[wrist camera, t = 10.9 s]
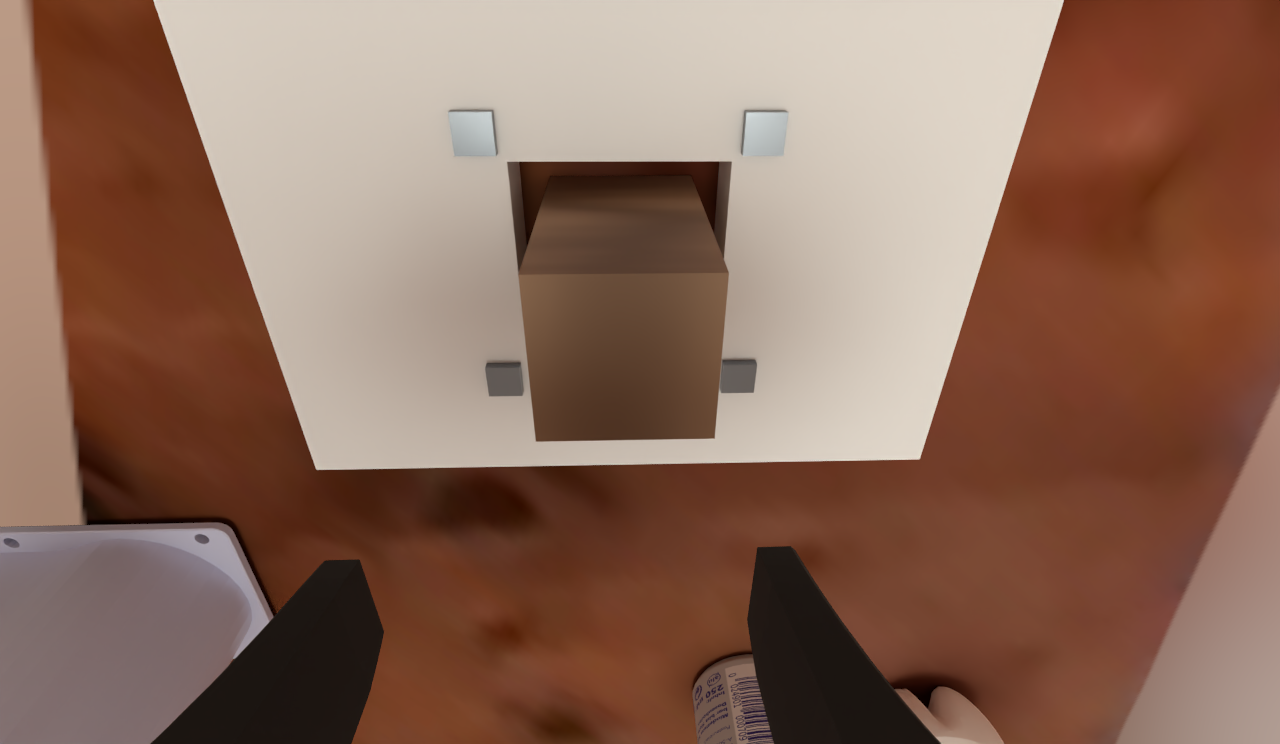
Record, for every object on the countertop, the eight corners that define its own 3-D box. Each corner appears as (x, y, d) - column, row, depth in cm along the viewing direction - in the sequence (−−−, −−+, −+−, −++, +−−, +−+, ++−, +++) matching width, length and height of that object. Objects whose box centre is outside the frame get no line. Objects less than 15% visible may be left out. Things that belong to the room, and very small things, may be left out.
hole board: (339, 432, 22) (312, 475, 20) (192, -42, 15) (127, -46, 13) (896, 423, 23) (923, 465, 21) (1025, -35, 15) (1083, -37, 14)
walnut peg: (559, 303, 20) (535, 441, 14) (549, 175, 18) (518, 275, 12) (684, 302, 20) (714, 438, 14) (691, 175, 18) (729, 272, 12)
